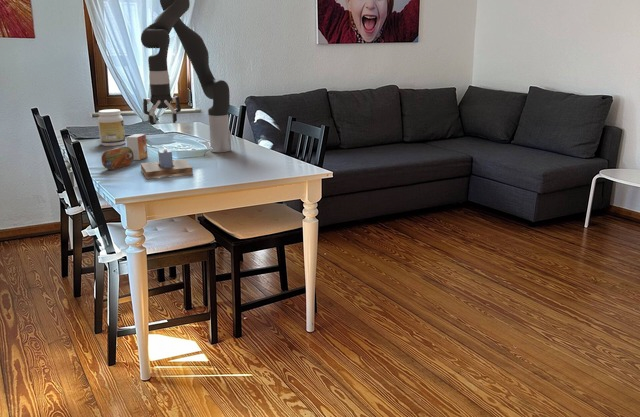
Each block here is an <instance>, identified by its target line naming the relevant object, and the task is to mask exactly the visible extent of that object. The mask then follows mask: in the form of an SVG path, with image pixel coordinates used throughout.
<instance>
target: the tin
mask: <svg viewBox="0 0 640 417" xmlns="http://www.w3.org/2000/svg"><path fill="white" fill-rule="evenodd" d="M133 157H134V155H133V152H132V150H131V149H130V148H129V147H127V146H119V147H115V148H112V149H106V150H105V151H104V152H103V153H102V155H101V163H102V166H103V168H104V169H107V170H111V171H114V169H115V170H118V169H121V168H122V169H123V168H126V167H130V165H131V164H132V163H133V161H134V160H133Z"/></svg>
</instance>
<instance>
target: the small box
mask: <svg viewBox="0 0 640 417" xmlns="http://www.w3.org/2000/svg"><path fill="white" fill-rule="evenodd" d="M125 140H126V141H125V142H126V147H129V148H130V149H131V150H132V152H133V155H134V157H133V161H141V160H143V159H145V158H148V147H147V145H148V144H147V135H146V133H145V134H144V133H133V134H132V135H129V136H125Z"/></svg>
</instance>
